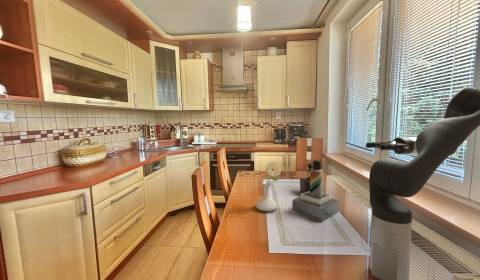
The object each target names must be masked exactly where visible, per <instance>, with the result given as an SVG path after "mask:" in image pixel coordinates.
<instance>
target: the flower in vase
mask: <svg viewBox="0 0 480 280" xmlns="http://www.w3.org/2000/svg"><path fill="white" fill-rule="evenodd" d="M265 172H266V173H267V175H268V176H270V178H269V179H268V178H266V177H263V176H262V179H264V180H267V181H262V182H261V184H262V186H263V189H264V195H263V197H262V198H261V199H259V200H258V201H257V202H256V203H255V207H256V209H258V210H259V211H263V212H273V211H276V210H277V209H278V203H277V202H276V201H275V200H273V199H272V198H271V197H270V187H271V185H272V182H271V180H272V181H273V182H277V181H280V178H279V177H278V176H279V175H281V172H282V168H281V166H280V164H279V163H278V162H275V161H270V162H269V163H267V164H266V167H265Z"/></svg>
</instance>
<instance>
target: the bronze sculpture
mask: <svg viewBox="0 0 480 280" xmlns="http://www.w3.org/2000/svg"><path fill="white" fill-rule="evenodd" d="M307 167H308V170H307V171H306V173H309V176H306V177H301V178H299V192H300V194H302V193H306V192H308V191H310V175H311V169H313V163H312V162H311V163H308V164H307Z"/></svg>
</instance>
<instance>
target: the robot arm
mask: <svg viewBox="0 0 480 280" xmlns="http://www.w3.org/2000/svg"><path fill="white" fill-rule="evenodd" d="M443 116H444V117H443V118H442V119H438V120H435V121H433V122H431V123H430V124H429V125H428V126H426V127H425V128H424V129H422V130H421V131H420V132H419V134H418V135H417V136H402V137H400V136H399V137H395V138H393V140H388V141H387V140H386V141H372V142H366V144H365V148H366V149H367V148H368V149H379V150H380V151H392V152H393V153H395V154H396V155H416V156H415V157H414V158H412V160H410V161H407V162H403V161H396V160H391V159H378V160H376V161H374V162H373V164H372V165H371V168H370V171H369V178H368V181H369V182H368V183H369V186H368V187H369V190H368V191H369V204H370V207H371V226H370V227H371V233H370V253H369V254H370V256H369V257H370V259H369V269H370V272H371V276H372V277H374V278H376V279H378V280H410V265H411V248H412V247H411V245H412V244H411V243H412V229H413V228H412V227H413V226H412V225H413V213H412V210H411V209H410V208H409V207H408V206H406V204H404V203H403V202H401V201H400V200H399V199H398V198H397V196H398V197H401V198H412V197H414V196H416V195H417V194H418V193H419V192H420V191H421V190H422V189H423V187H424V186H425V184H427V183H428V181H429V179H430V178H431V177H432V175H433V174H434V173H435V172H436V170H437V169H438V168H439V167H440V166H441V165H442V163H444V161H446V159H447V158H448V157H450V156H452V155H454V154H455V153H456V152H457V150H458V148H459V147H460V146H461V145H462V144H463V143H464V142H465V141H467V139H468V138H469V136H471V134H473V132H474V131H475V130H476V129H478V128H479V127H480V89H479V88H476V87H473V86H464V87H462V88H460V89H459V90H457V92H455V94H454V95H453V96H452V97H451V99H449V101H448V104H447V106H446V109H445V113H444V115H443Z"/></svg>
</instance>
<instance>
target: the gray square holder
mask: <svg viewBox="0 0 480 280" xmlns="http://www.w3.org/2000/svg"><path fill="white" fill-rule="evenodd" d="M291 203H292V205H291V206H292V210H291V211H292V212H293V211H295V212H294V213H296V212H297V213H296V214H298V213H300V214H299V215H301V214H303V215H302V216H304V215H305V216H304V217H307V216H308V217H307V218H309V217H310V218H309V219H312V218H313V219H312V220H315V219H316V220H315V221H317V220H319V221H318V222H320V221H321V222H320V223H323V221H324V222H326V221H327V220H329V219H330V218H332V217H334V216H335V215H337V214H338V212H339V213H340V200H338V199H335V198H332V195H331V194H328V193H325V192H322V198H321V199H316V198H313V197H310V191H308V192H306V193H303V194H302V193H300V194H299V196H298V197H296V198H294V199H292V202H291ZM336 213H337V214H336ZM333 215H334V216H333ZM331 216H332V217H331ZM329 217H330V218H329ZM328 218H329V219H328ZM326 219H327V220H326Z"/></svg>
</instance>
